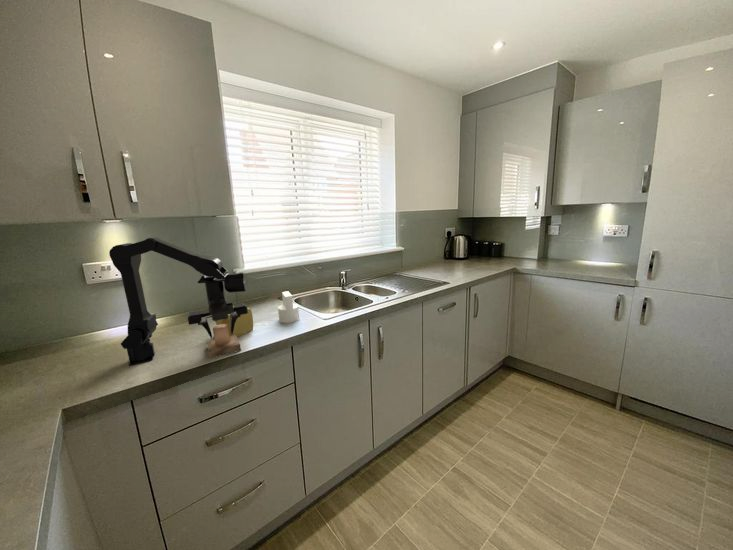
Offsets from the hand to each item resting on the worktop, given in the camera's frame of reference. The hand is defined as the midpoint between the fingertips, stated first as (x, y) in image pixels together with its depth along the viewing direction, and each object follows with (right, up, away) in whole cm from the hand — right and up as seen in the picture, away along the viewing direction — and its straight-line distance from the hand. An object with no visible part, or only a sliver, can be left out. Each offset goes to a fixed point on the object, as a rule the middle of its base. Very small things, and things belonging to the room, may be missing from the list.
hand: (221, 335), depth 107 cm
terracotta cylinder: (0, -3, 0) cm, 3 cm away
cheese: (-2, -2, +16) cm, 16 cm away
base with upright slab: (+17, +1, +29) cm, 34 cm away
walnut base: (0, -5, +1) cm, 5 cm away
